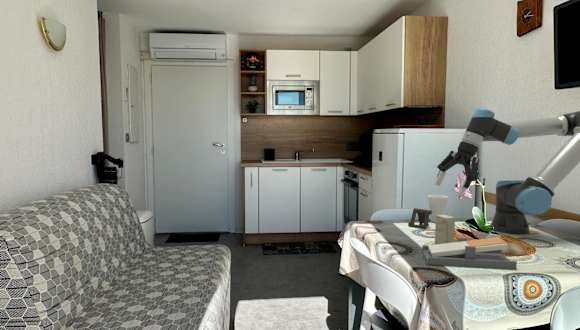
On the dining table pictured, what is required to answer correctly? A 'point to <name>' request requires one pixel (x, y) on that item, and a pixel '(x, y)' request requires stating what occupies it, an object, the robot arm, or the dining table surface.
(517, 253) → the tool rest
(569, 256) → the dining table surface
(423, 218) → the portable electronic device stand
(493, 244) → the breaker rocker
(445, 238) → the skincare box
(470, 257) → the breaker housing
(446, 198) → the foam cup
